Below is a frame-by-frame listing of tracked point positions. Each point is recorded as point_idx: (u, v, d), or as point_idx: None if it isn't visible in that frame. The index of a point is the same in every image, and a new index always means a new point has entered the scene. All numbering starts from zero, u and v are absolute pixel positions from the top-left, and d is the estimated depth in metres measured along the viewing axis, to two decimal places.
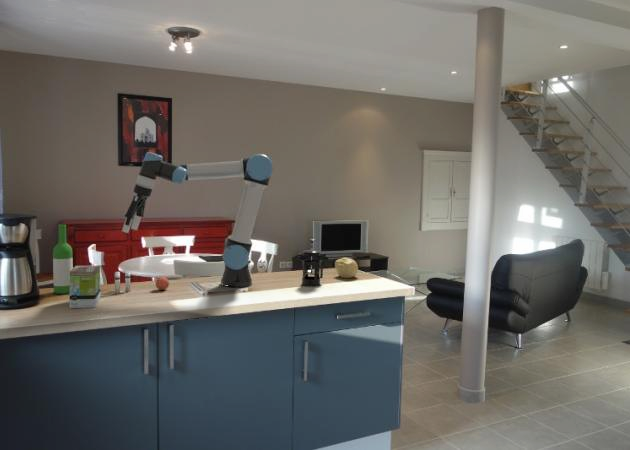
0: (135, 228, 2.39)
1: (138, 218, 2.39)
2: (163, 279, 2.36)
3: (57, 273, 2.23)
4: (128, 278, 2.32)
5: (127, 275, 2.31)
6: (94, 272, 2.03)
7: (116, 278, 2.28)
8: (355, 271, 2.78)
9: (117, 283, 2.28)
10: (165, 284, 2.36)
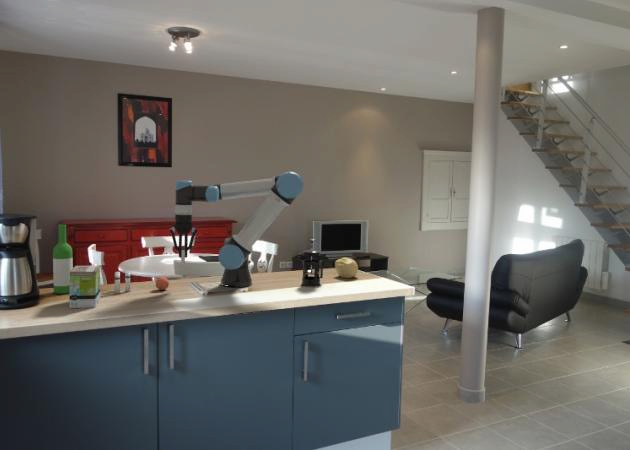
0: None
1: None
2: (163, 279, 2.36)
3: (57, 273, 2.23)
4: (128, 278, 2.32)
5: (127, 275, 2.31)
6: (94, 272, 2.03)
7: (116, 278, 2.28)
8: (355, 271, 2.78)
9: (117, 283, 2.28)
10: (165, 284, 2.36)
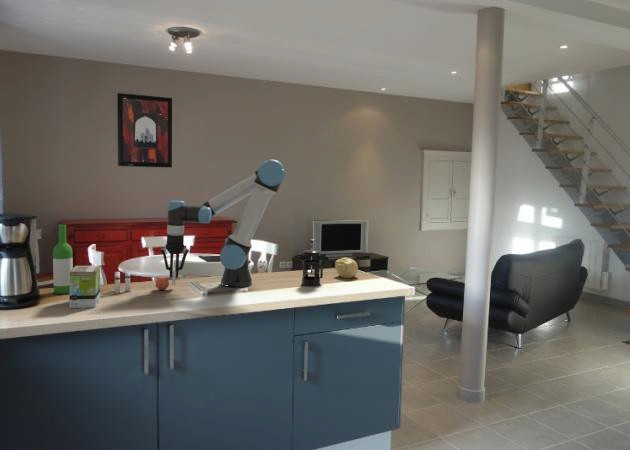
0: None
1: None
2: (163, 279, 2.36)
3: (57, 273, 2.23)
4: (128, 278, 2.32)
5: (127, 275, 2.31)
6: (94, 272, 2.03)
7: (116, 278, 2.28)
8: (355, 271, 2.78)
9: (117, 283, 2.28)
10: (165, 284, 2.36)
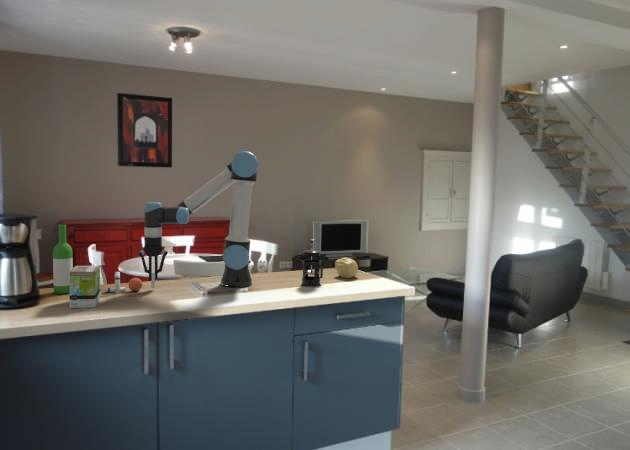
0: None
1: None
2: (136, 289, 2.33)
3: (57, 273, 2.23)
4: (109, 289, 2.30)
5: (107, 290, 2.29)
6: (94, 272, 2.03)
7: (116, 278, 2.28)
8: (355, 271, 2.78)
9: (117, 283, 2.28)
10: (133, 287, 2.31)
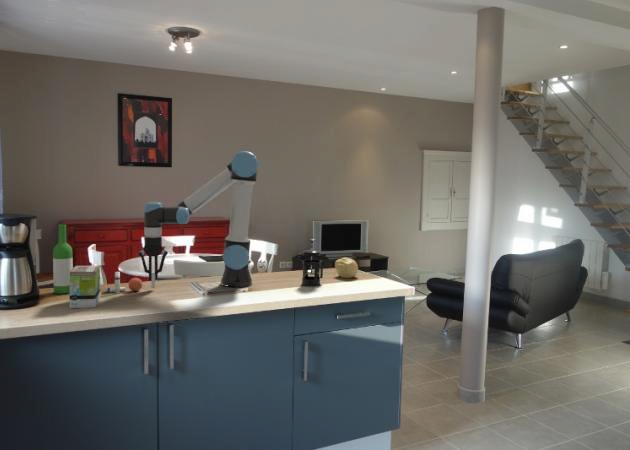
0: None
1: None
2: (136, 289, 2.33)
3: (57, 273, 2.23)
4: (109, 288, 2.30)
5: (107, 289, 2.29)
6: (94, 272, 2.03)
7: (116, 278, 2.28)
8: (355, 271, 2.78)
9: (117, 283, 2.28)
10: (133, 287, 2.31)
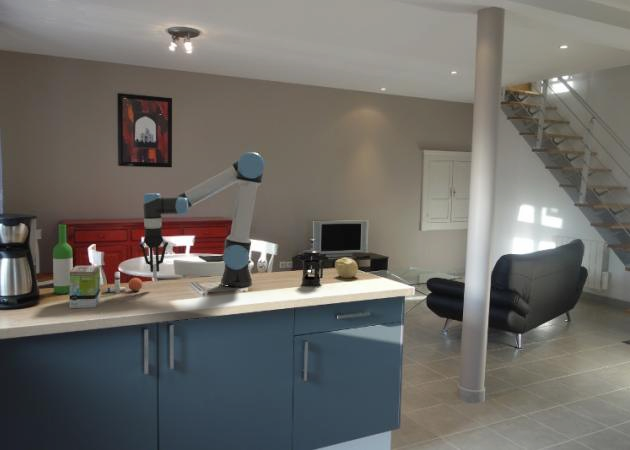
0: None
1: None
2: (136, 289, 2.33)
3: (57, 273, 2.23)
4: (109, 288, 2.30)
5: (107, 289, 2.29)
6: (94, 272, 2.03)
7: (116, 278, 2.28)
8: (355, 271, 2.78)
9: (117, 283, 2.28)
10: (133, 287, 2.31)
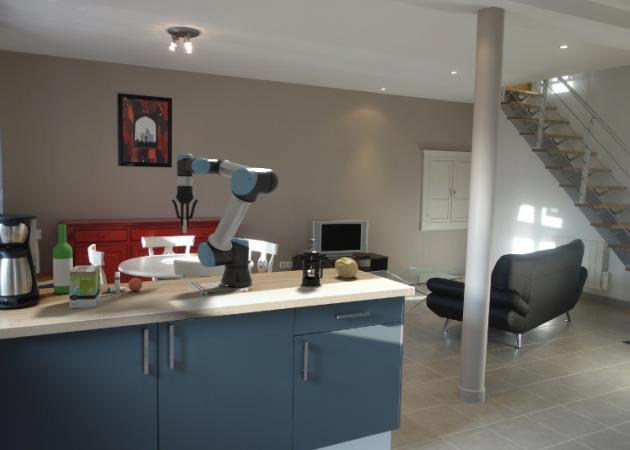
0: None
1: None
2: (136, 289, 2.33)
3: (57, 273, 2.23)
4: (109, 288, 2.30)
5: (107, 289, 2.29)
6: (94, 272, 2.03)
7: (116, 278, 2.28)
8: (355, 271, 2.78)
9: (117, 283, 2.28)
10: (133, 287, 2.31)
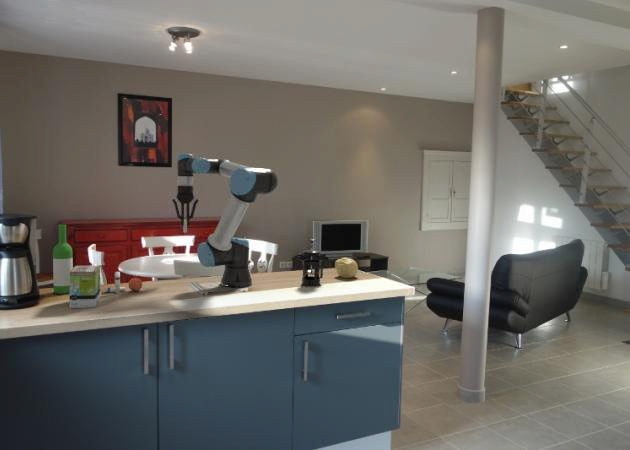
0: None
1: None
2: (136, 289, 2.33)
3: (57, 273, 2.23)
4: (109, 288, 2.30)
5: (107, 289, 2.29)
6: (94, 272, 2.03)
7: (116, 278, 2.28)
8: (355, 271, 2.78)
9: (117, 283, 2.28)
10: (133, 287, 2.31)
